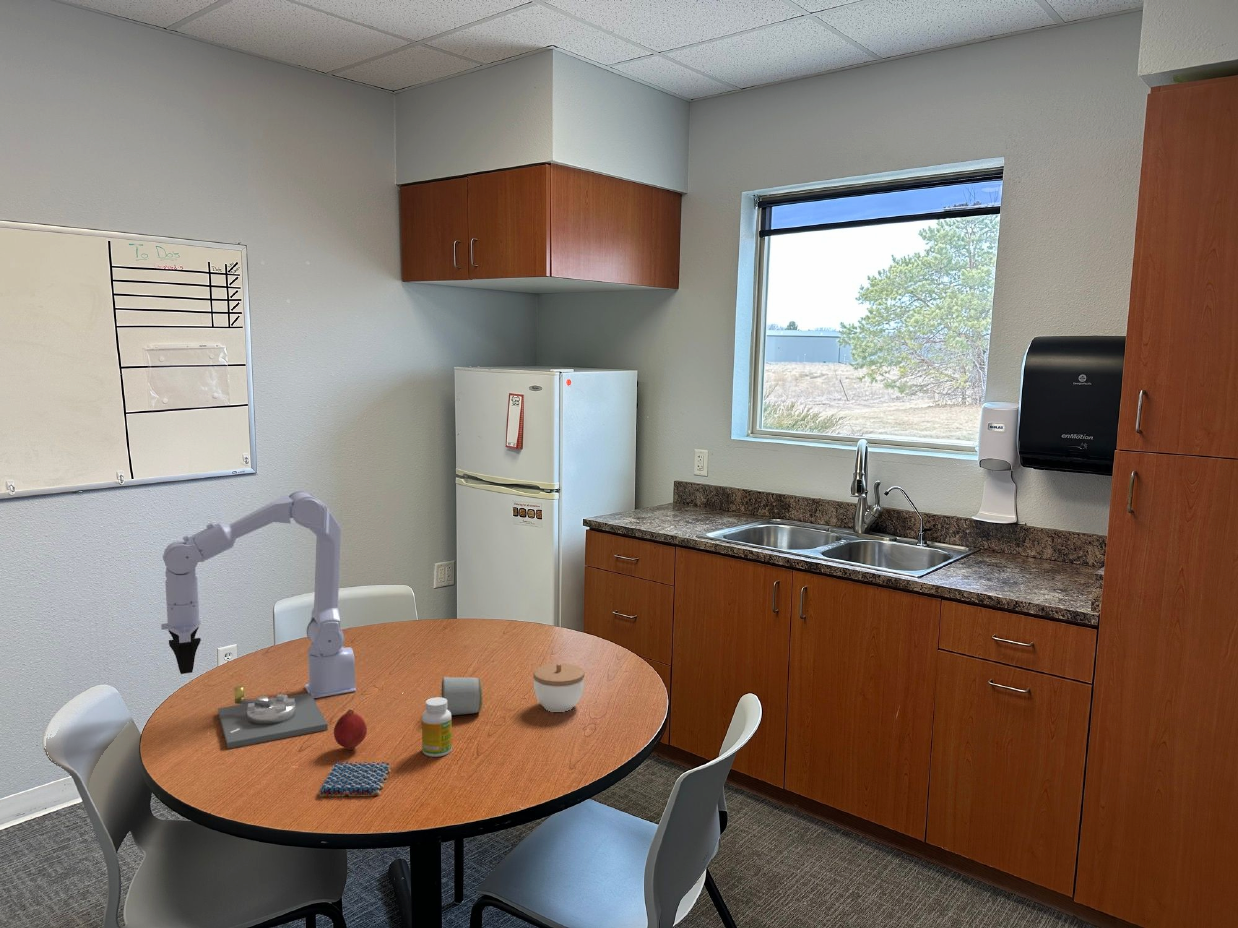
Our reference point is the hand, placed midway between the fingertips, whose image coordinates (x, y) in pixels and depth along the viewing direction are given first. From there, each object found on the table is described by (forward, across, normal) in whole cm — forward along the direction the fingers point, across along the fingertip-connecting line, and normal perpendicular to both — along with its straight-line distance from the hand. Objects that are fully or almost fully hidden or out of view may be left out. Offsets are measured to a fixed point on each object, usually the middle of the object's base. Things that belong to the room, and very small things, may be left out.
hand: (185, 666), depth 176 cm
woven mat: (+11, +44, +25) cm, 52 cm away
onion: (+10, +31, +26) cm, 42 cm away
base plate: (+10, +11, +15) cm, 21 cm away
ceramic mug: (+10, +22, +50) cm, 56 cm away
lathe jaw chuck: (+9, +10, +13) cm, 19 cm away
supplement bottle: (+10, +39, +41) cm, 57 cm away
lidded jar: (+10, +30, +69) cm, 76 cm away
